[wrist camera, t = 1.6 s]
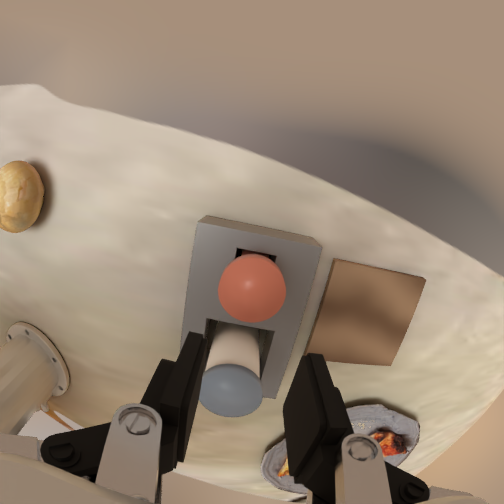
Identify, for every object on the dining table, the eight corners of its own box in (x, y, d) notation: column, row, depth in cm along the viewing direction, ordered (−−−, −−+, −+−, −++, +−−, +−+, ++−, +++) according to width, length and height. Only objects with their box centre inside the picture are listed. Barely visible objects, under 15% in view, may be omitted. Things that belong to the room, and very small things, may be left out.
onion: (11, 167, 25) (-29, 170, 18) (52, 154, 25) (9, 153, 18) (15, 230, 27) (-23, 242, 20) (56, 224, 26) (15, 238, 20)
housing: (273, 375, 30) (275, 398, 26) (185, 359, 30) (177, 381, 26) (312, 237, 26) (322, 247, 22) (206, 215, 26) (197, 221, 22)
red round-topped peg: (272, 291, 26) (277, 327, 19) (223, 282, 25) (213, 315, 19) (283, 244, 25) (293, 267, 18) (232, 233, 24) (224, 253, 18)
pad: (388, 362, 30) (390, 365, 29) (303, 354, 29) (304, 358, 29) (422, 277, 27) (426, 279, 26) (333, 258, 27) (335, 260, 26)
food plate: (437, 424, 33) (445, 437, 30) (342, 492, 39) (344, 506, 35) (340, 375, 31) (346, 394, 28) (234, 462, 36) (232, 479, 33)
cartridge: (255, 353, 30) (255, 421, 20) (211, 345, 29) (194, 410, 20) (265, 315, 28) (269, 377, 19) (218, 306, 28) (200, 365, 18)
